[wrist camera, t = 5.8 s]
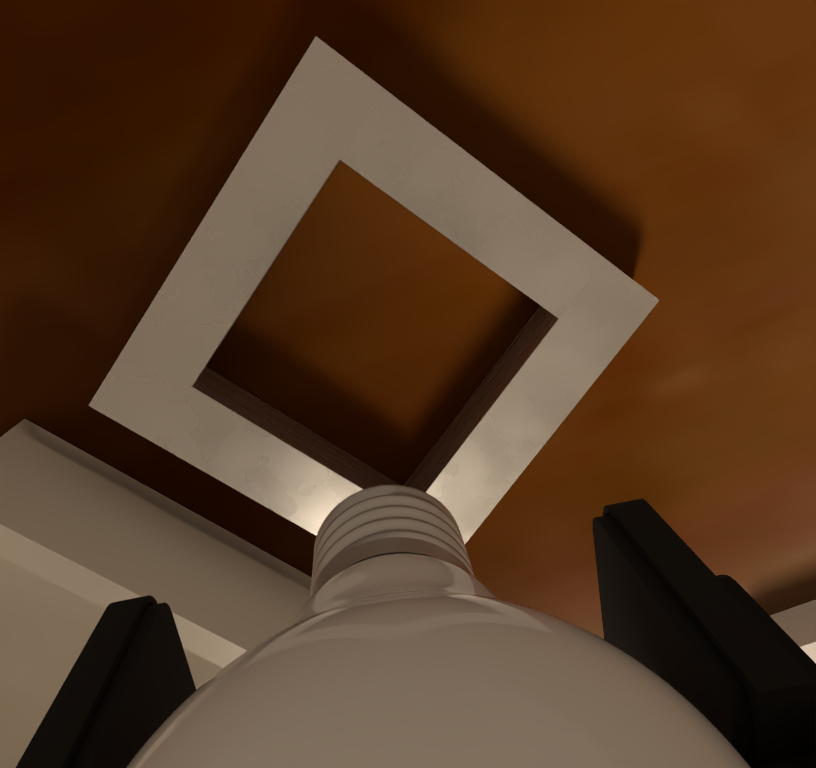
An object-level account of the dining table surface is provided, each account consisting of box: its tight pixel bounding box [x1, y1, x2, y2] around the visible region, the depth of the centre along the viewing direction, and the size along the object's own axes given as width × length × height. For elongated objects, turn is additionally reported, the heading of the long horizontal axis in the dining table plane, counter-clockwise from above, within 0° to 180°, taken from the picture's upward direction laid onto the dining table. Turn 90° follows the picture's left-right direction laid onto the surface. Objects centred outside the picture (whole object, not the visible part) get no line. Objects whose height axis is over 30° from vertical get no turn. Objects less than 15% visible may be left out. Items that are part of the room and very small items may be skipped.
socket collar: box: [88, 37, 659, 545], centre depth 25 cm, size 14×14×2 cm
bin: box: [0, 419, 312, 768], centre depth 27 cm, size 16×16×6 cm
